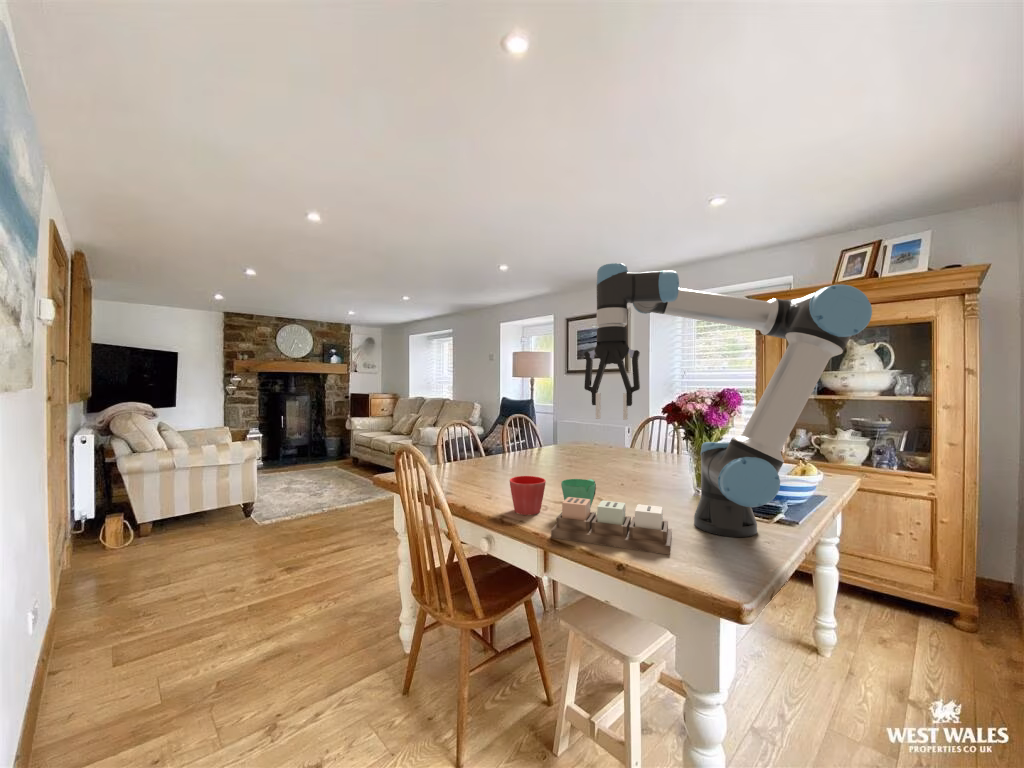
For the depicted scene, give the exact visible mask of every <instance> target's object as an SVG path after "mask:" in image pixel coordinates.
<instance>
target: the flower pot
mask: <svg viewBox="0 0 1024 768" xmlns="http://www.w3.org/2000/svg"><path fill="white" fill-rule="evenodd" d="M546 484H547V481H546V479H545V478H543V477H541V476H540V477H539V476H532V475H520V476H514V477H511V478H509V486H510V492H511V498H512V503H513V508H514V512H515V513H516V514H517V513H518V515H521V516H534V515H537V514H539V513H540V512H541V509H542V504H543V500H544V495H545V494H544V493H545V489H546Z"/></svg>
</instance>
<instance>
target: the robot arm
mask: <svg viewBox="0 0 1024 768" xmlns="http://www.w3.org/2000/svg"><path fill="white" fill-rule="evenodd" d="M628 304H632V306H633V308H634V309H635V311H636V312H638V313H640V314H650V313H654V314H659V315H661V314H662V315H666V316H667V315H668V316H671V317H672V316H673V317H677V318H678V317H681V318H685V319H691V320H697V321H702V322H703V321H704V322H709V323H715V324H721V325H726V326H733V327H740V328H745V329H751V330H756V331H759V332H760V334H762V335H763V336H769V337H775V338H780V339H785V340H786V341H787V343H788V345H787V348H786V349H785V352H784V353H783V354H782V356H781V359H780V361H779V363H778V364H777V366H776V368H775V370H774V372H773V374H772V376H771V378H770V379H769V382H768V384H767V386H766V388H765V389H764V391H763V393H762V396H761V397H760V399H759V401H758V402H757V405H756V407H755V409H754V410H753V412H752V414H751V416H750V418H749V420H748V422H747V424H746V426H745V428H744V429H743V432H742V434H740V435H736V436H734V437H732V438H731V439H730V441H729V442H721V441H717V442H716V441H715V442H713V441H705V442H703V443H702V444H701V449H700V450H701V451H700V453H699V454H700V470H701V471H700V498H699V501H698V504H697V507H696V510H695V513H694V516H693V520H694V521H693V524H694V526H695V527H696V528H698V529H700V530H701V531H704V532H707V533H709V534H713V535H719V536H724V537H730V538H732V537H733V538H749V537H753V536H755V535H756V534H758V522H757V520H756V517H755V514H754V513H755V512H753V509H752V508H759V507H762V506H764V505H768V504H769V503H770V502H771V501H773V500H774V499H775V498H776V496H777V495H778V493H779V491H780V489H781V488H780V487H781V479H780V476H779V475H780V474H779V472H780V470H781V468H782V467H783V464H784V463H785V460H784V457H783V455H782V450H783V448H784V446H785V444H786V442H787V440H788V438H789V436H791V435H790V434H791V432H792V431H793V429H794V427H795V425H796V423H797V422H798V420H799V417H800V415H802V412H803V410H804V408H805V406H806V404H807V403H808V400H809V399H810V397H811V394H812V393H813V391H814V389H815V388H816V386H817V383H818V382H819V380H820V378H821V376H822V375H823V372H824V371H825V369H826V367H827V364H828V363H829V361H830V359H831V358H834V357H836V356H840V355H841V354H843V352H844V351H845V348H846V347H847V344H848V343H849V341H850V339H851V337H853V336H856V335H858V334H859V333H861V332H862V331H863V330H864V329H866V328H867V326H869V324H870V322H871V319H872V317H873V307H872V304H871V302H870V300H869V298H868V296H867V295H866V294H865V293H864V292H863V291H862V290H860V288H857V287H855V286H852V285H847V284H834V285H828V286H824V287H821V288H819V289H818V290H816V291H815V292H813V293H809V294H807V295H805V296H803V297H799V298H794V299H781V298H780V299H779V298H774V297H773V298H772V299H769V300H767V301H766V300H761V299H753V298H746V297H740V296H732V295H727V294H720V293H714V292H707V291H701V290H694V289H688V288H682V287H681V288H680V278H679V274H678V272H677V271H675V270H664V269H663V270H659V271H657V270H655V271H641V272H640V271H639V272H630V271H629V270H628V266H627V265H626V264H624V263H617V262H611V263H607V264H603V265H601V266H600V267H599V268H598V269H597V273H596V326H597V327H598V328H597V329H596V345H595V348H594V349H593V350H590V351H585V352H584V353H583V354H584V358H585V374H584V390H585V391H588V392H590V393H591V404H592V406H595V419H597V420H599V419H601V418H602V416H601V415H602V411H601V409H602V405H601V404H602V397H601V395H602V394H601V392H599V388H600V385H601V381H602V379H603V376H604V374H605V369H606V367H607V365H612V364H615V365H617V367H618V369H619V373H620V375H621V379H622V382H623V385H624V388H625V393H622V396H623V397H622V407H623V408H622V410H623V411H622V415H623V416H622V419H623V420H624V421H628V419H629V417H628V416H629V412H628V411H629V410H628V409H629V408H628V407H632V405H633V393H634V392H637V391H640V389H641V382H640V373H639V371H640V369H639V358H640V355H641V354H640V353H641V352H640V350H637V349H635V350H634V349H631V348H630V347H629V346H628V328H627V327H626V326H627V325H628ZM628 354H629V358H630V359H631V366H632V381H633V386H632V385H631V381H630V378H629V376H628V373H627V369H626V367H625V362H624V359H625V358H626V357H627V355H628ZM595 355H596V356H597V357H598V359H599V363H598V364H599V365H598V368H597V371H596V374H595V377H594V380H593V379H592V377H593V366H594V365H593V363H594V361H593V360H594V359H595ZM592 380H593V383H592Z"/></svg>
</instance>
